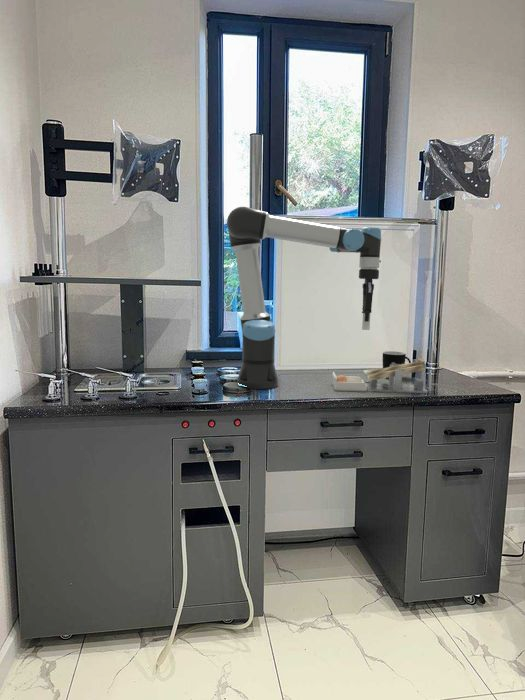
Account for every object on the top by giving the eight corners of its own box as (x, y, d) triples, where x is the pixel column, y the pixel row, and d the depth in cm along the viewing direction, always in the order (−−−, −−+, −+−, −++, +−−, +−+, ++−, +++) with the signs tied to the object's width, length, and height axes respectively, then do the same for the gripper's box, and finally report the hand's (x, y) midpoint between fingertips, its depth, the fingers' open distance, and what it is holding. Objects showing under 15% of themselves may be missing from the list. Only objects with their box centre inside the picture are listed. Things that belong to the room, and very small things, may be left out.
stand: (368, 391, 181) (369, 369, 180) (363, 384, 192) (364, 364, 191) (427, 393, 180) (429, 371, 179) (419, 386, 191) (421, 365, 190)
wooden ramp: (370, 383, 182) (368, 372, 182) (363, 374, 198) (362, 364, 197) (426, 372, 181) (424, 361, 180) (415, 364, 196) (413, 354, 196)
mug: (387, 380, 201) (388, 354, 199) (377, 375, 210) (379, 351, 208) (415, 379, 203) (416, 354, 202) (404, 374, 212) (406, 350, 210)
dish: (334, 390, 181) (335, 378, 181) (332, 383, 192) (332, 372, 192) (366, 391, 181) (367, 378, 180) (362, 384, 192) (362, 372, 191)
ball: (348, 385, 184) (337, 388, 185) (347, 383, 188) (336, 385, 189) (346, 375, 184) (335, 377, 184) (345, 373, 188) (334, 375, 188)
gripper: (381, 268, 190) (377, 331, 193) (376, 269, 202) (373, 328, 206) (361, 268, 190) (357, 331, 194) (357, 268, 203) (354, 327, 206)
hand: (365, 329), depth 200 cm, fingers closed
